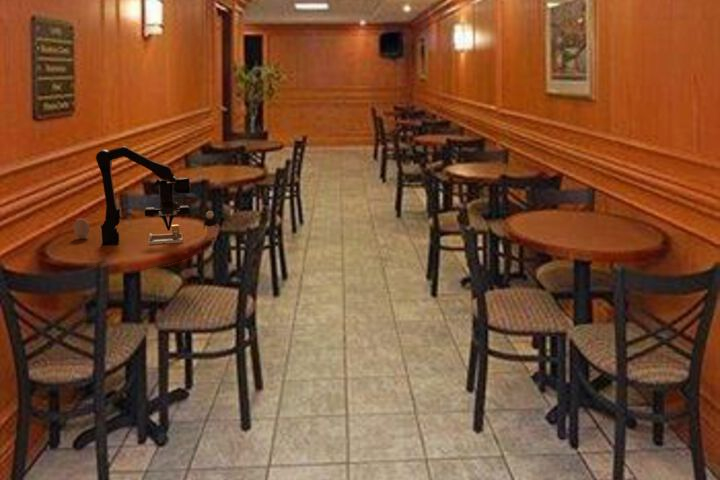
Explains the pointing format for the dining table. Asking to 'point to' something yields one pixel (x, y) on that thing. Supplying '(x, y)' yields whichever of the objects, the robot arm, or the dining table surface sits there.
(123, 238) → the dining table surface
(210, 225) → the grandmother figurine
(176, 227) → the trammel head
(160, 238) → the gauge board
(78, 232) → the egg
